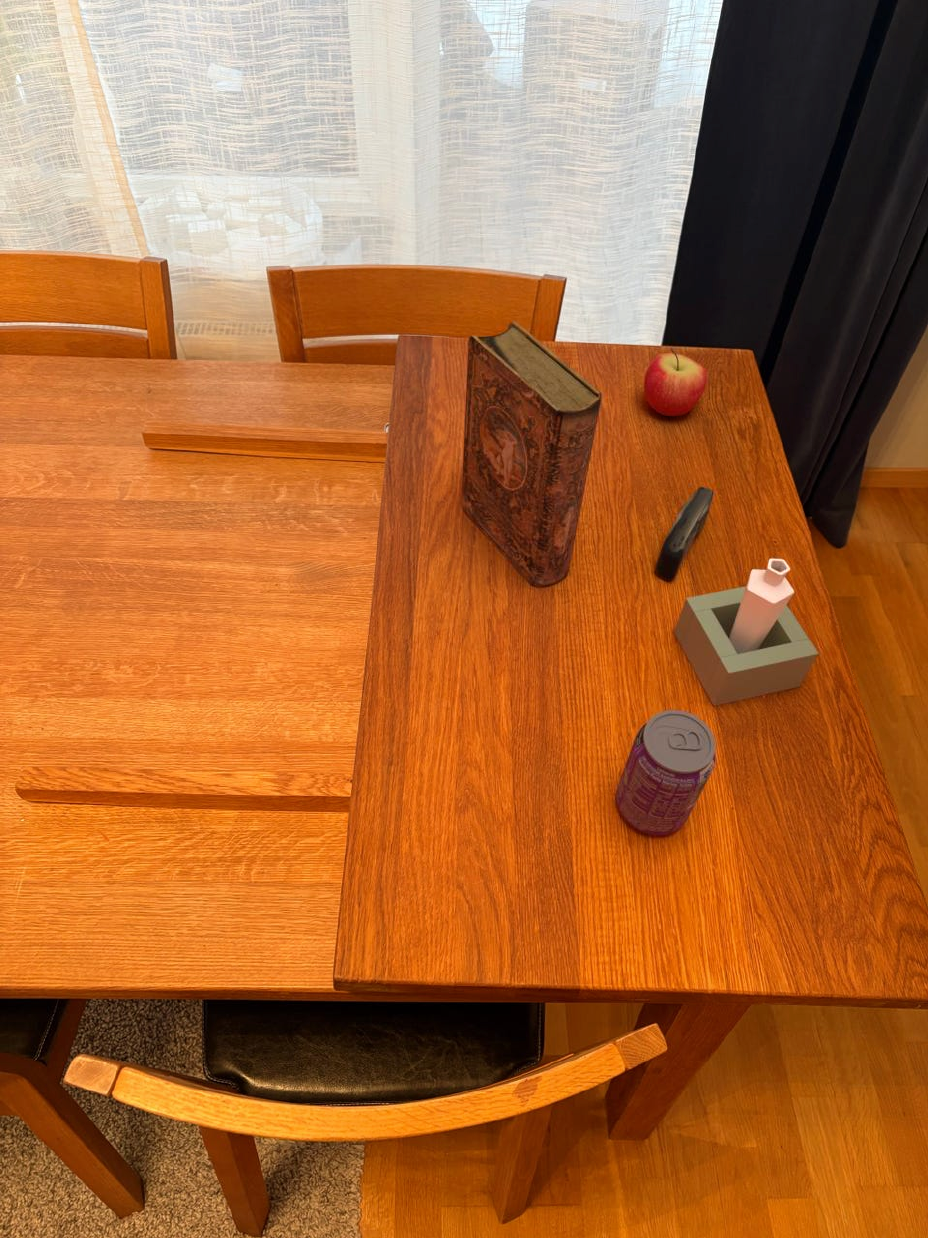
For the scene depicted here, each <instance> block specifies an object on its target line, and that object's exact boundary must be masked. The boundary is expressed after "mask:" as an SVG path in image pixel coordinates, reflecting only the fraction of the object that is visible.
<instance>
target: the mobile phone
mask: <svg viewBox="0 0 928 1238" xmlns="http://www.w3.org/2000/svg"><path fill="white" fill-rule="evenodd" d="M713 498H714V490H713V489H711V488H708V487H704V486H699V487H697V489H696V490H695V491H694V492H693V494H692V495H691V497H690V498H689V499H688V500H687V501H685V502H684V503H683V505H682V506H681V508H680V510H679V512H678V513H677V516H676V517H675V520H674V522H673V524H672V526H671V528H670V530H669V532H668V534H667V535H666V538H665V539H664V542H663V544H662V546H661V549H660V552H659V555H658V559H657V562H656V566H655V572H656V574H657V575H658V576H659V577H660V578H662V579H664V580H667V581H670V582H671V581H673V580H674V579H676V576H677V574H678V572H679V570H680V568H681V565H682V564H683V562H684V559H685V558H686V555H687V554H688V551H689V550H690V548H691V546H692V545H693V543H694V542H695V541H696V539H697V538H698V537H699V535H700V534H701V532H702V530H703V528H704V525H705V524H706V521H707V518H708V515H709V512H710V509H711V506H712V504H713V503H712V502H713Z"/></svg>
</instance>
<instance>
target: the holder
mask: <svg viewBox="0 0 928 1238" xmlns="http://www.w3.org/2000/svg"><path fill="white" fill-rule="evenodd" d="M746 586H747V585H745V586H741V587H735V588H731V589H725V590H720V591H715V592H710V593H705V594H700V595H695V596H690V597H686V598H685V599H684V602H683V605H682V608H681V611H680V613H679V617H678V619H677V622H676V625H675V628H674V630H673V634H674V636H675V638H676V640H677V641H678V644H679V645H680V647H681V649H682V651H683V653H684V655H685V656H686V658H687V660H688V662H689V664H690V666H691V667H692V669H693V671H694V673H695V675H696V676H697V677H696V678H698V681H699V682H700V684H701V686H702V688H703V690H704V691H705V693H706V695H707V697H708V699H709V700H710V701H709V702H711V704H712V706H713V707H716V706H720V705H724V704H729V703H734V702H738V701H742V700H747V699H751V698H757V697H760V696H764V695H769V694H773V693H774V694H775V693H779V692H782V691H787V690H792V689H796V688H800V686H801V685H802V683H803V681H804V680H805V678H806V676H807V674H808V672H809V671H810V669H811V668H812V666H813V664H814V663H815V661H816V659H817V658H818V656H819V654H820V653H819V651H818V650H817V648H816V647H815V645H814V644H813V643H812V641H811V639H810V638H809V637H808V635H807V633H806V632H805V630H804V628H803V627H802V626H801V624H800V623H799V620H797V618H796V616H795V615H794V613H793V612H792V611H791V609H790V608H789V606H788V604H786V606H785V607H784V609H783V611H782V612H781V614H780V615H779V617H778V618H777V620H776V622H775V623H774V625H773V626H772V628H771V629H770V631H769V633H768V634H767V636H766V637H765V639H764V640H763V642H762V644H761V645H760V647H759V648H758V650H755V651H750V652H745V653H741V654H737V652H736V651H735V649H734V647H733V645H732V644H731V642H730V640H729V636H730V633H731V631H732V628H733V625H734V622H735V619H736V616H737V613H738V610H739V607H740V604H741V601H742V598H743V595H744V592H745V589H746Z"/></svg>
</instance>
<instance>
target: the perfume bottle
mask: <svg viewBox="0 0 928 1238" xmlns="http://www.w3.org/2000/svg"><path fill="white" fill-rule="evenodd" d="M790 571H791V567H790V566H789V565H788V563H787V562H786V560H785V559H783V558H769V560H768V563H767V566H766V569H756V568H753V569H751V571H750V574H749V577H748V579H747V583H746V585H745V586H746V589H745V592H744V595H743V598H742V601H741V604H740V607H739V610H738V613H737V616H736V619H735V622H734V625H733V628H732V631H731V633H730V636H728V639H729V640H730V642H731V644H732V645H733V647H734V649H735V651H736V652H737V654H741V653H745V652H750V651H755V650H758V648H759V647H760V645H761V644H762V642H763V640H764V639H765V637H766V636H767V634H768V633H769V631H770V629H771V628H772V626H773V625H774V623H775V622H776V620H777V618H778V617H779V615H780V614H781V612H782V611H783V609H784V607H785V606H786V605H788V603H789V601H790V600H791V597H792V596H793V595H794V593H795V590H794V588H793V586H791V584H790V582H789V581H788V580H787V578H786V575H787V574H788V572H790Z"/></svg>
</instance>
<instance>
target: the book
mask: <svg viewBox="0 0 928 1238" xmlns="http://www.w3.org/2000/svg"><path fill="white" fill-rule="evenodd" d="M507 328H508V329H506V330H505V331H503V332H501V333H498V334H495V335H488V336H477V335H475V334H474V335H470V336H469V337H468V344H467V345H468V346H467V347H468V349H467V367H466V390H465V391H466V393H465V410H464V411H465V413H464V430H463V431H464V433H463V434H464V435H463V454H462V455H463V456H462V476H461V477H462V479H461V481H462V482H461V507H462V509H463V511H464V513H465V515H467V516H468V517H469V519H470V520H471V522H473V524H475V526H476V527H477V528H478V529H479V530H480V532H482V533H483V534H484V536H485V537H486V538H487V539H488V540H489V541H490V542H491V543H492V544H493V545H494V547H496V548H497V549H498V551H499V552H500V553H501V554H502V555H503V556H504V557H505V558H506V559H507V560H508V562H510V564H511V565H512V566H513V567H514V568H515V569H516V570H517V571H518V573H519V574H521V575H522V577H523V578H524V579H525V580H526V581H527V583H529V584H530V585H531V586H532V587H533V588H540V589H541V588H542V589H543V588H549V587H553V586H555V585H557V584H559V583H561V582H562V581H563V580H565V579H567V577H568V575H569V571H570V567H571V561H572V556H573V551H574V545H575V540H576V536H577V530H578V525H579V520H580V514H581V509H582V503H583V498H584V494H585V488H586V482H587V478H588V477H587V476H588V471H589V466H590V461H591V455H592V450H593V444H594V440H595V434H596V429H597V424H598V418H599V414H600V407H601V403H602V397H603V394H602V391H600V390H599V389H598V388H597V387H596V386H594V385H593V384H592V383H591V382H590V381H588V380H587V379H586V378H585V377H584V376H583V375H582V374H580V373H578V372H577V371H576V370H575V369H574V368H573V367H571V366H570V365H569V364H568V363H566V362H565V361H564V360H562V358H561V357H559V356H558V355H556V353H554V352H553V350H550V349H549V347H547V346H546V345H544V344H543V343H542V342H541V341H540V340H539V339H538V338H536V337H535V336H534V335H532V334H531V333H530V331H528V330H527V329H525V328H524V327H523V326H522V325H520V324H519V323H518V322H517V321H515V320H513V321H510V323H508V327H507Z"/></svg>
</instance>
